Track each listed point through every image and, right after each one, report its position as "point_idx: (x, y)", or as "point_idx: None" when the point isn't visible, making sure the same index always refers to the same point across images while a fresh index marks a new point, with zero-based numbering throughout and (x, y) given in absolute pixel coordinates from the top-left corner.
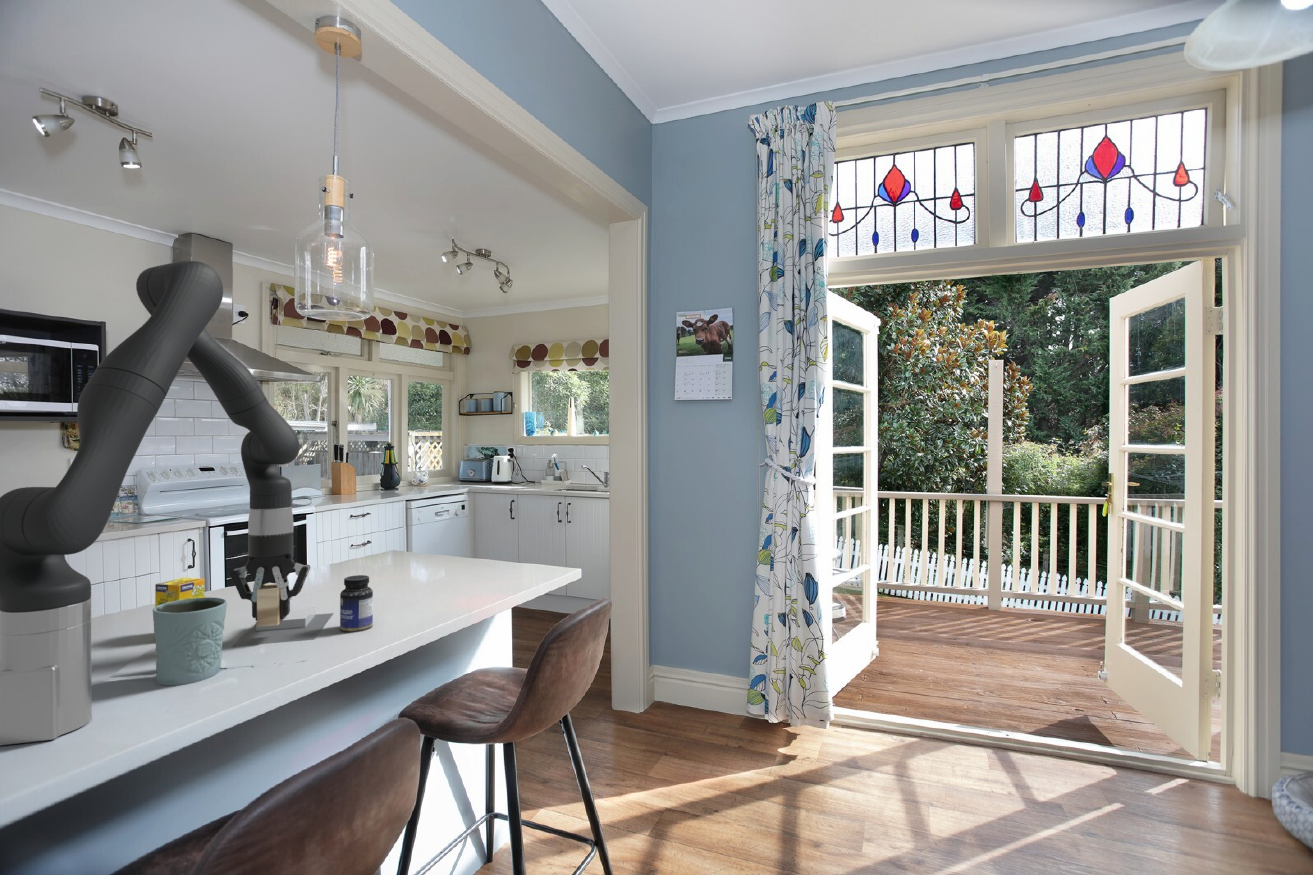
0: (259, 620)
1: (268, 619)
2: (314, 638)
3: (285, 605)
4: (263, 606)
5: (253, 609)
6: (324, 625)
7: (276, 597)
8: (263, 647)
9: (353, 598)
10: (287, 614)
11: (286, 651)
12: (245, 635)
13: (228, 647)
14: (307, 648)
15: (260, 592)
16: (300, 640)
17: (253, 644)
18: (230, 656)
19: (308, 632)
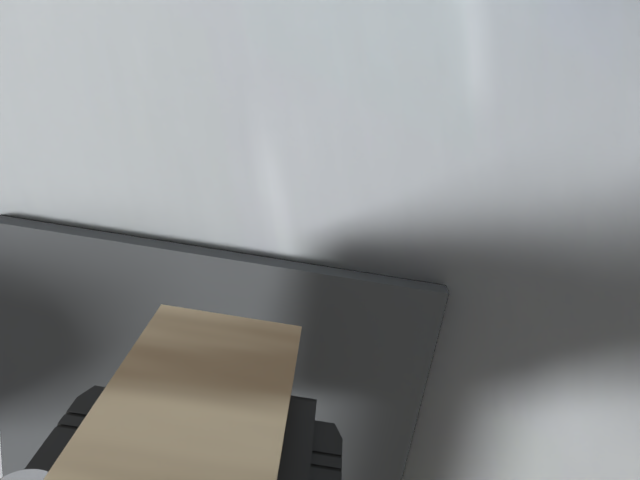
0: (280, 349)
1: (213, 339)
2: None
3: (64, 446)
4: (227, 419)
5: (329, 474)
6: (2, 467)
7: (71, 459)
8: (276, 247)
9: None
10: (86, 394)
11: (125, 98)
12: (395, 464)
13: (466, 333)
14: (9, 106)
15: None
16: (66, 233)
17: (330, 274)
18: (441, 146)
19: (59, 375)
